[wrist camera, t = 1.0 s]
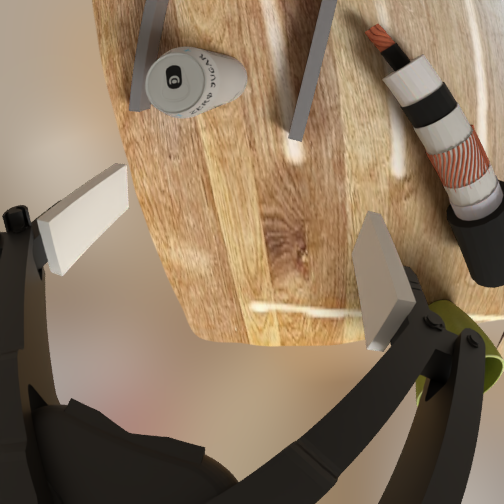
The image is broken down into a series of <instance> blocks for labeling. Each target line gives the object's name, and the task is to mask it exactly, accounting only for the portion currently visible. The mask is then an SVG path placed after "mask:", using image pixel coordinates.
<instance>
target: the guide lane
mask: <svg viewBox="0 0 504 504" xmlns="http://www.w3.org/2000/svg"><path fill="white" fill-rule="evenodd" d="M168 1H169V0H146V3H145V7H144V12H143V17H142V22H141V27H140V32H139V37H138V43H137V49H136V56H135V62H134V69H133V77H132V85H131V94H130V104H129V111H136V112H140V111H143V110H147V109H150V106H151V102H150V101H149V99H148V97H147V94H146V90H145V81H146V76H147V73H148V71H149V69H150V67H151V66H152V65H153V63H154V62H155V61H156V60H157V56H158V50H159V44H160V39H161V33H162V28H163V23H164V18H165V14H166V9H167V5H168ZM336 3H337V0H322V2H321V6H320V10H319V14H318V18H317V23H316V27H315V31H314V35H313V39H312V43H311V47H310V51H309V55H308V60H307V64H306V68H305V72H304V76H303V80H302V84H301V88H300V92H299V96H298V100H297V104H296V108H295V112H294V116H293V120H292V124H291V128H290V132H289V137H288V138H289V139H293V140H297V141H300V142H302V138H303V134H304V131H305V127H306V123H307V119H308V115H309V112H310V108H311V104H312V100H313V96H314V92H315V88H316V85H317V81H318V77H319V73H320V69H321V65H322V61H323V57H324V53H325V49H326V45H327V41H328V37H329V32H330V28H331V24H332V20H333V16H334V12H335V8H336Z"/></svg>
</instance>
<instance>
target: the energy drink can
mask: <svg viewBox="0 0 504 504" xmlns="http://www.w3.org/2000/svg"><path fill="white" fill-rule="evenodd" d="M246 84H247V73H246V70H245V68H244V66H243V65H242V63H240V62H239V61H238V60H237V59H235V58H233V57H231V56H228V55H224V54H220V53H216V52H212V51H208V50H204V49H200V48H195V47H187V46H186V47H178V48H174V49H172V50H170V51H168V52H166V53H165V54H163V55H162V56H161V57H160V58H159V59H158V60H156V61H155V62H154V63H153V65H152V66H151V67H150V69H149V71H148V73H147V76H146V81H145V90H146V94H147V97H148V99H149V101H150V102H151V104H152V105H153V106H154V107H155V108H157V109H158V110H160V111H162V112H163V113H165V114H166V115H169V116H171V117H175V118H190V117H194V116H196V115H199V114H201V113H203V112H206V111H208V110H211V109H213V108H216V107H218V106H221V105H223V104H226V103H228V102H231V101H233V100H235V99H237V98H238V97H239V96H240V95H241V94H242V93H243V91H244V90H245V87H246Z"/></svg>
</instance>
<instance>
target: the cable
mask: <svg viewBox="0 0 504 504" xmlns="http://www.w3.org/2000/svg"><path fill="white" fill-rule="evenodd" d="M365 34H366V35H367V36H368V38H369V39H370V41H371V42H373V43H374V45H375V47H376V48H377V49H379V51H380V52H381V55H382V56H383V57H384V58H385V60H386V61H387V62H388V63H389V65H390V66H391V67H392V68H393V70H394V71H393V72H392V73H390V74H389V75H387V76H386V77H385V78H383V79H382V80H383V81H384V82H385V84H386V85H387V87H388V88H389V89H390V91H391V92H392V93H393V95H394V96H395V98H396V99H397V100H398V102H399V103H400V105H401V108H402V110H403V111H404V113H405V114H406V116H407V117H408V119H409V120H410V122H411V123H412V125H413V128H414V130H415V132H416V133H417V135H418V137H419V138H420V140H421V142H422V143H423V145H424V147H425V148H426V151H425V152H426V154H427V156H428V158H429V159H430V161H431V163H432V165H433V166H434V168H435V170H436V172H437V174H438V176H439V178H440V180H441V181H442V184H443V186H444V188H445V190H446V192H447V194H448V196H449V202H450V205H449V207H448V209H447V220H448V222H449V224H450V226H451V229H452V231H453V233H454V235H455V237H456V240H457V242H458V244H459V247H460V249H461V252H462V254H463V257H464V259H465V262H466V264H467V267H468V269H469V272H470V275H471V278H472V279H473V280H474V281H475V282H476V283H477V284H478V285H481V286H484V287H493V288H495V287H499V286H503V285H504V182H503V181H500V180H498V179H497V176H496V175H495V173H494V171H493V168H492V166H491V164H490V161H489V160H488V158H487V155H486V153H485V151H484V149H483V146H482V144H481V142H480V140H479V138H478V136H477V134H476V132H475V130H474V125H470V124H469V122H468V120H467V118H466V117H465V115H464V113H463V111H462V109H461V108H460V106H459V104H458V103H457V102H456V101H455V99H454V97H453V96H452V94H451V92H450V91H449V89H448V88H447V86H446V84H445V83H444V82H442V81H441V79H440V78H439V76H438V75H437V73H436V72H435V70H434V69H433V67H432V66H431V64H430V63H429V61H428V60H427V59H426V57H425V56H424V54H423V55H420V56H418V57H416V58H414V59H413V60H411V61H410V60H409V59H408V57H407V56H406V55H405V53H404V52H403V51H402V49H401V48H400V47H399V46H398V44H397V43H395V42H394V41H393V40H392V39H391V37H390V36H389V35H388V34H387V33H386V31H385V30H384V29H383V28H382V27H381V26H380V25H379V24H377V25H375V26H373V27H371V28H370V29H369V30H367V31H366V32H365Z"/></svg>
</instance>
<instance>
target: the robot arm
mask: <svg viewBox="0 0 504 504" xmlns="http://www.w3.org/2000/svg"><path fill="white" fill-rule="evenodd" d="M128 208H129V205H128V184H127V165H126V164H118V163H115V164H114V165H112V166H111V167H109V168H108V169H106V170H104V171H103V172H101V173H100V174H99V175H97V176H95V177H94V178H92V179H91V180H89V181H88V182H87V183H85V184H84V185H82V186H81V187H79V188H78V189H76V190H75V191H74V192H72V193H71V194H69V195H68V196H67V197H65V198H64V199H63V200H60V201H58V202H57V203H56V204H54V205H53V206H52V208H51V207H50V208H49V209H48V210H47V211H46V212H44V213H43V214H41V215H40V216H39V217H38V218H36V219H35V220H34V221H33V222H31V221H30V217H29V212H28V208H27V207H26V206H24V205H20V206H15V207H12V208H10V209H9V210H7V211H6V212H5V213H4V214H3V216H2V217H3V220H4V224H5V228H6V231H7V232H0V504H315V503H316V502H317V501H319V500H320V499H321V498H322V497H323V496H324V495H325V494H326V493H327V492H328V491H329V490H330V489H331V488H332V487H333V486H334V485H335V483H336V482H337V480H338V477H339V476H340V474H341V473H342V472H343V471H344V470H345V469H346V468H347V467H348V466H349V465H350V464H351V463H352V461H354V459H355V458H356V457H357V456H358V455H359V454H360V452H362V451H363V449H364V448H365V447H366V446H367V445H368V444H369V442H370V441H371V440H372V439H373V437H374V436H375V435H376V434H377V433H378V432H379V430H380V429H381V428H382V427H383V425H384V424H385V423H386V422H387V420H388V419H389V418H390V416H391V415H392V413H393V412H394V411H395V410H396V408H397V407H398V406H399V404H400V402H401V401H402V400H403V399H404V397H405V396H406V394H407V393H408V391H409V390H410V388H411V387H412V386H413V384H414V382H415V381H416V380H417V378H418V376H419V375H422V376H424V377H426V380H425V384H424V387H423V391H422V394H421V398H420V401H419V404H418V408H417V411H416V414H415V417H414V420H413V423H412V426H411V429H410V432H409V434H408V437H407V440H406V443H405V445H404V448H403V450H402V453H401V455H400V458H399V460H398V462H397V465H396V467H395V469H394V472H393V474H392V476H391V478H390V481H389V483H388V485H387V487H386V489H385V491H384V493H383V495H382V497H381V499H380V501H379V503H378V504H461V502H462V499H463V495H464V492H465V489H466V485H467V481H468V478H469V474H470V470H471V465H472V461H473V457H474V453H475V448H476V442H477V437H478V431H479V425H480V418H481V410H482V401H483V391H484V378H485V350H486V347H485V342H484V340H483V338H482V336H481V335H480V334H479V333H478V332H476V331H475V330H473V329H470V328H465V329H464V330H462V332H461V333H460V334H459V335H457V334H454V333H452V332H450V331H448V330H446V327H445V323H444V321H443V320H442V318H441V317H440V316H439V315H438V314H436V313H435V312H433V311H431V310H430V309H429V306H428V304H427V301H426V298H425V296H424V293H423V291H422V288H421V285H419V281H418V278H417V276H416V274H415V273H414V272H413V271H412V269H411V268H410V267H406V266H403V265H402V263H401V260H400V258H399V255H398V253H397V250H396V248H395V245H394V243H393V241H392V238H391V236H390V234H389V231H388V229H387V227H386V224H385V222H384V220H383V218H382V216H381V214H378V213H375V212H371V211H367V214H366V217H365V219H364V222H363V225H362V228H361V230H360V233H359V236H358V238H357V241H356V244H355V246H354V249H353V252H352V259H353V264H354V269H355V275H356V280H357V286H358V292H359V298H360V304H361V311H362V318H363V325H364V332H365V340H366V348H367V349H368V350H375V351H384V350H385V349H386V347H387V346H388V345H389V343H391V347H390V348H389V350H388V351H387V352H386V353H385V354H384V355H383V357H382V358H381V359H380V360H379V361H378V362H377V363H376V364H375V366H374V367H373V368H372V369H371V370H370V371H369V372H368V373H367V374H366V375H365V376H364V378H363V379H362V380H361V381H360V382H359V383H358V384H357V385H356V386H355V387H354V388H353V389H352V390H351V391H350V392H349V393H348V394H347V395H346V396H345V397H344V398H343V399H342V400H341V401H340V402H339V403H338V404H337V405H336V406H335V407H334V408H333V409H332V410H331V411H330V412H329V413H328V414H327V415H326V416H324V417H323V418H322V419H321V420H320V421H319V422H318V423H317V424H316V425H314V426H313V427H312V428H311V429H310V430H309V431H308V432H307V433H305V434H304V435H303V436H302V437H301V438H299V439H298V440H297V441H295V442H293V443H292V444H290V445H289V446H288V447H286V448H285V449H284V450H282V451H281V452H280V453H278V454H277V455H276V456H275V457H273V458H272V459H271V460H269V461H268V462H267V463H265V464H264V465H263V466H261V467H260V468H259V469H257V470H256V471H254V472H253V473H252V474H250V475H249V476H247V477H246V478H244V480H242V481H240V482H238V481H237V479H236V478H235V477H234V476H233V474H231V472H230V471H229V470H228V469H226V468H225V467H224V466H223V465H221V464H220V463H219V462H217V461H216V460H214V459H213V458H210V457H209V456H207V455H205V447H201V446H197V445H194V444H190V443H186V442H183V441H179V440H176V439H173V438H169V437H159V436H149V435H140V434H132V433H128V432H127V431H125V430H124V429H122V428H121V427H120V426H118V425H117V424H115V423H114V422H113V421H111V420H110V419H109V418H107V417H106V416H105V415H103V414H102V413H101V412H100V411H97V410H95V409H93V408H91V407H89V406H87V405H84V404H82V403H80V402H78V401H76V400H74V399H72V398H71V400H70V401H69V404H68V405H60V403H59V400H58V398H57V395H56V391H55V386H54V380H53V374H52V367H51V360H50V352H49V343H48V333H47V320H46V300H45V271H44V268H43V266H44V264H46V263H47V262H48V264H49V267H50V271H51V272H52V273H55V274H58V275H61V276H63V275H64V274H65V273H66V272H67V271H68V269H69V268H70V267H71V266H72V265H73V264H74V263H75V262H76V261H77V259H78V258H79V257H80V256H81V255H82V254H83V253H84V252H85V251H86V250H87V249H88V248H89V247H90V246H91V245H92V244H93V243H94V242H95V241H96V240H97V239H98V238H99V237H100V235H101V234H103V233H104V232H105V230H107V229H108V228H109V227H110V226H111V225H112V224H113V223H114V222H115V221H116V220H117V219H118V218H119V217H120V216H121V215H122V214H123V213H124V212H125V211H126V210H127V209H128Z"/></svg>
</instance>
